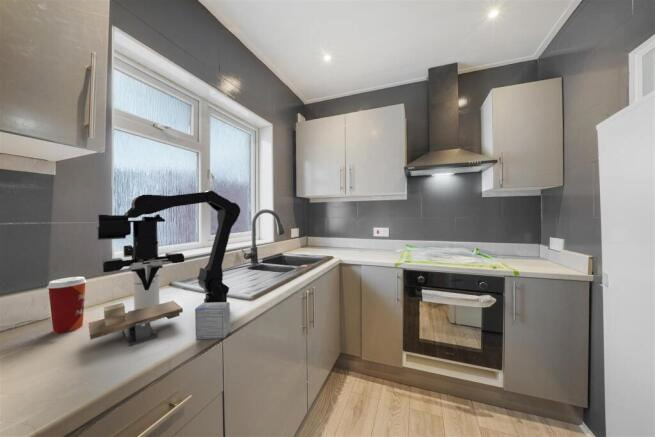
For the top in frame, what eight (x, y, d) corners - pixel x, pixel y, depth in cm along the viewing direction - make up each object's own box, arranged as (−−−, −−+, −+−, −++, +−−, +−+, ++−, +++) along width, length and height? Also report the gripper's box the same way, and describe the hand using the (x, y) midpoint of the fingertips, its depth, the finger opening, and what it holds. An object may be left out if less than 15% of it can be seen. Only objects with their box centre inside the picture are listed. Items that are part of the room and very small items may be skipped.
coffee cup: (91, 326, 73) (90, 278, 73) (51, 338, 66) (50, 284, 66) (82, 320, 77) (82, 274, 77) (44, 330, 70) (43, 280, 70)
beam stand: (146, 321, 75) (146, 306, 75) (157, 337, 65) (157, 320, 65) (121, 328, 71) (121, 312, 71) (129, 346, 61) (129, 328, 61)
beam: (173, 308, 79) (173, 300, 79) (183, 316, 72) (182, 308, 72) (89, 332, 64) (88, 322, 64) (90, 345, 57) (90, 334, 57)
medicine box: (230, 331, 68) (230, 301, 68) (224, 339, 64) (223, 307, 64) (203, 332, 68) (202, 302, 68) (195, 340, 64) (194, 308, 64)
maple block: (123, 316, 67) (122, 302, 67) (125, 320, 65) (124, 306, 64) (104, 321, 64) (103, 307, 64) (105, 326, 62) (104, 311, 62)
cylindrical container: (164, 307, 87) (163, 240, 87) (147, 315, 80) (146, 242, 80) (146, 307, 88) (145, 240, 88) (128, 315, 81) (127, 242, 81)
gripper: (174, 234, 82) (175, 279, 82) (99, 238, 68) (100, 292, 68) (184, 235, 74) (185, 285, 74) (102, 240, 60) (103, 301, 61)
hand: (146, 290), depth 69 cm, fingers closed
